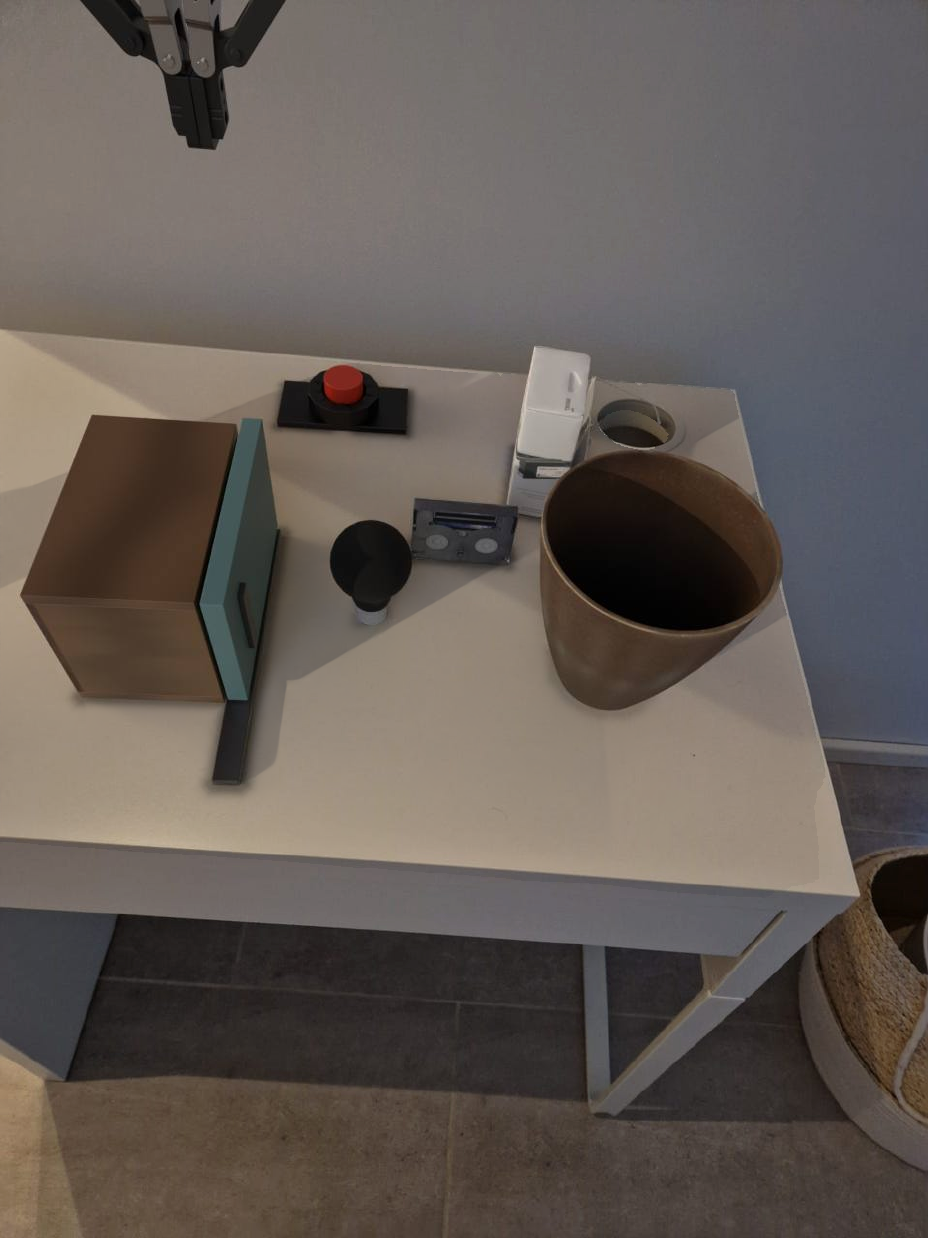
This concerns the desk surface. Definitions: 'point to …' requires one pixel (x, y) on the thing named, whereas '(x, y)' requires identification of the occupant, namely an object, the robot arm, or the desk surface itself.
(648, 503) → the plant pot
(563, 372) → the ink box
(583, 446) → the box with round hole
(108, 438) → the cabinet
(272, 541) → the door
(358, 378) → the button
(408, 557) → the light bulb
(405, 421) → the button box
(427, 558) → the mini dv tape
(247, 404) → the desk surface
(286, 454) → the desk surface
